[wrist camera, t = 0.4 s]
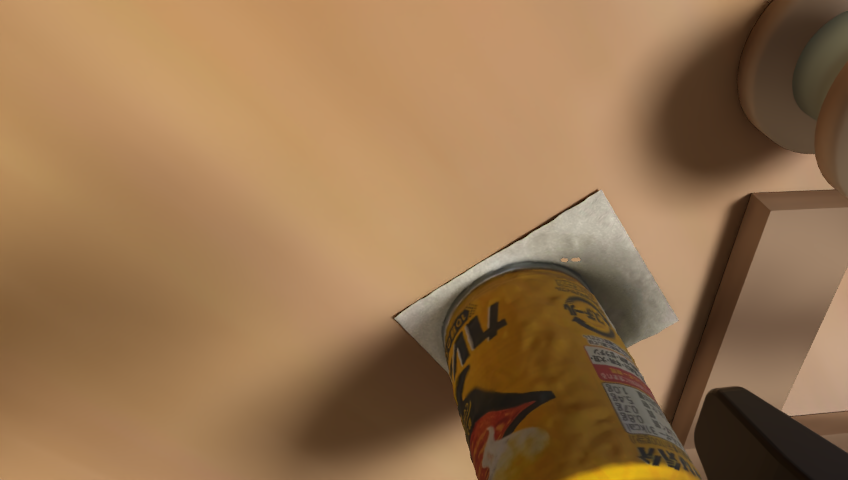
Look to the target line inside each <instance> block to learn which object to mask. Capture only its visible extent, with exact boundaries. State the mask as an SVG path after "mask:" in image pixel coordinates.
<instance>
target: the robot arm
mask: <svg viewBox="0 0 848 480" xmlns="http://www.w3.org/2000/svg"><path fill="white" fill-rule="evenodd" d="M694 444H695V448H696V451H697V454H698V456H699V459H700V462H701V464H702V467H703V469H704V472H705V474H706V477H707V480H848V453H847V452H846V451H844V450H843V449H841V448H839V447H838V446H836V445H835V444H833V443H831V442H830V441H828V440H827V439H825V438H824V437H822V436H820V435H819V434H817V433H816V432H814V431H812V430H811V429H809V428H808V427H806V426H804V425H803V424H801V423H800V422H798V421H796V420H795V419H793V418H792V417H790V416H788V415H787V414H785V413H784V412H782V411H780V410H779V409H777V408H776V407H774V406H772V405H771V404H769V403H768V402H766V401H764V400H763V399H761V398H760V397H758V396H756V395H755V394H753V393H752V392H750V391H749V390H747V389H745V388H743V387H739V386H731V387H721V388H714V389H711V390H710V391H709V392H708V393H707V394H706V396H705V399H704V402H703V406H702V409H701V412H700V415H699V418H698V421H697V424H696V427H695V431H694Z"/></svg>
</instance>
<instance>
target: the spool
mask: <svg viewBox="0 0 848 480" xmlns="http://www.w3.org/2000/svg"><path fill="white" fill-rule="evenodd" d="M737 87H738V95H739V101H740V104H741V106H742V109H743V111H744V113H745V115H746V117H747V118H748V119H749V121H750V122H751V123H752V124H753V125H754V126H755V127H756V128H757V129H758V130H760V131H761V132H762V133H763V134H765V135H766V136H767V137H769V138H770V139H771V140H773V141H774V142H775V143H776V144H778V145H780V146H781V147H783V148H785V149H788V150H791V151H793V152H798V153H804V154H815V157H816V160H817V164H818V167H819V169H820V171H821V173H822V175H823V177H824V178H825V179H826V180H827V182H828V183H829V184H830V185H831V186H832V187H834V188H835V189H836V190H837V191H838V192H840V193H841V194H842V195H844V196H845V197H846V198H848V0H773V1H772V2H771V3H770V4H769V6H768V7H767V8H766V10H765V11H764V12H763V14H762V15H761V16H760V18H759V19H758V21H757V22H756V24H755V26H754V27H753V29H752V31H751V33H750V35H749V37H748V39H747V41H746V44H745V47H744V49H743V52H742V55H741V59H740V63H739V68H738V77H737Z"/></svg>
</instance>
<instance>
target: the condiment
mask: <svg viewBox="0 0 848 480" xmlns="http://www.w3.org/2000/svg"><path fill="white" fill-rule="evenodd" d="M577 257H579V258H580V259H581V260H580V261H578V262H573V261H571V259H572V258H577ZM562 258H568V261H567V262H561V260H560V259H562ZM395 320H397V321H398V322H399V323H400V324H401V325H402V327H403V328H404V329H405V330H406V331H407V332H408V333H409V334H410V335H411V336H412V337H413V338H414V339H415V340H416V341H417V342H418V343H419V344H420V345H421V346H422V347H423V348H424V349H425V350H426V351H427V352H428V353H429V354H430V355H431V356H432V357H433V358H434V359H435V361H436V362H438V363H439V364H440V365H441V366H442V367H443V369H444V370H445V371H446V372H447V373H448V374H449V376H450V380H451V383H452V385H453V392H454V398H455V401H456V403H457V406H458V411H459V415H460V417H461V422H462V425H463V428H464V430H465V435H466V441H467V444H468V446H469V450H470V457H471V460H472V463H473V465H474V468H475V471H476V476H477V478H478V480H702V478H701V475H700V473H699V472H698V470H697V469H696V468H695V466H694V465H693V463H692V461H691V459H690V458H689V456H688V454H687V453H686V451H685V449H684V447H683V446H682V444H681V442H680V441H679V439H678V437H677V435H676V434H675V432H674V430H673V429H672V427H671V425H670V424H669V422H668V420H667V419H666V417H665V415H664V414H663V412H662V410H661V409H660V407H659V405H658V403H657V402H656V400H655V398H654V396H653V394H652V392H651V390H650V389H649V388H648V386H647V385H646V383H645V381H644V378H643V376H642V375H641V373H640V372H639V369H638V368H637V366H636V364H635V361H634V359H633V358H632V356H631V355H630V354H629V352H628V350H627V348H628V347H629V346H631V345H633V344H635V343H637V342H639V341H641V340H643V339H646V338H648V337H650V336H653V335H655V334H657V333H659V332H660V331H662V330H663V329H665V328H667V327H668V326H670V325H672V324H674V323H676V322H677V321H679V320H678V318H677V316H676V315H675V313H674V311H673V310H672V308H671V307H670V305H669V303H668V302H667V300H666V298H665V297H664V295H663V293H662V292H661V290H660V288H659V286H658V285H657V283H656V282H655V280H654V278H653V276H652V275H651V273H650V271H649V270H648V268H647V266H646V265H645V263H644V261H643V259H642V258H641V256H640V254H639V253H638V251H637V249H636V248H635V247H634V245H633V243H632V241H631V239H630V237H629V236H628V234H627V232H626V231H625V229H624V227H623V226H622V224H621V222H620V221H619V219H618V217H617V215H616V214H615V212H614V210H613V208H612V207H611V205H610V203H609V202H608V200H607V198H606V197H605V195H604V193H603V192H602V190H600V191H598V192H597V193H595V194H593V195H591V196H590V197H588V198H587V199H586V200H585V201H583V202H582V203H580V204H578V205H577V206H575V207H573V208H571V209H569V210H567V211H565V212H564V213H562V214H561V215H559V216H558V217H557V218H556V219H554V220H553V221H551V222H550V223H548V224H546V225H544V226H542V227H540V228H539V229H537V230H535V231H534V232H532V233H530V234H529V235H528V236H527V237H525V238H523V239H522V240H519V241H517V242H515V243H514V244H512V245H511V246H509V247H507V248H505V249H503V250H502V251H500V252H498V253H496V254H494V255H493V256H491V257H489V258H487V259H486V260H484V261H482V262H481V263H479V264H477V265H476V266H474V267H473V268H471V269H469V270H468V271H466V272H465V273H463V274H462V275H460V276H458V277H456V278H455V279H453V280H452V281H450V282H449V283H447V284H445V285H443V286H441V287H440V288H438V289H437V290H435V291H433V292H432V293H431V294H430V295H428V296H427V297H425V298H423V299H421V300H419V301H417V302H416V303H414V304H413V305H411V306H410V307H408V308H407V309H405V310H404V311H402V312H401V313H400V314H399V315H398V316H397V317H396V318H395Z"/></svg>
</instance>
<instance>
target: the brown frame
mask: <svg viewBox="0 0 848 480" xmlns="http://www.w3.org/2000/svg"><path fill="white" fill-rule="evenodd" d="M847 267H848V198H846V197H845V196H844V195H842V194H841V193H840V192H838V191H837V190H819V191H794V192H769V193H752V194H751V197H750V200H749V203H748V206H747V208H746V211H745V214H744V217H743V220H742V223H741V226H740V229H739V231H738V234H737V237H736V240H735V243H734V246H733V249H732V252H731V255H730V257H729V260H728V263H727V266H726V269H725V272H724V275H723V278H722V280H721V283H720V286H719V289H718V292H717V295H716V298H715V301H714V304H713V306H712V309H711V312H710V315H709V318H708V321H707V324H706V327H705V329H704V332H703V335H702V338H701V341H700V344H699V347H698V350H697V353H696V355H695V358H694V361H693V364H692V367H691V370H690V373H689V376H688V378H687V381H686V384H685V387H684V390H683V393H682V396H681V399H680V401H679V404H678V407H677V410H676V413H675V416H674V419H673V422H672V425H671V427H672V429H673V430H674V432H675V434H676V435H677V437H678V439H679V441H680V442H681V444H682V446H683V447H684V449H685V451H686V453H687V454H688V456H689V458H690V459H691V461H692V463H693V465H694V466H695V468H696V469H697V470H698V472H699V473H700V475H701V478H702V480H707V477H706V474H705V472H704V469H703V467H702V464H701V462H700V459H699V456H698V454H697V451H696V448H695V444H694V431H695V427H696V424H697V421H698V418H699V415H700V412H701V409H702V406H703V402H704V399H705V396H706V394H707V393H708V392H709V391H710V390H711V389H714V388H721V387H731V386H739V387H743V388H745V389H747V390H749V391H750V392H752V393H753V394H755V395H756V396H758V397H760V398H761V399H763V400H764V401H766V402H768V403H769V404H771V405H772V406H774V407H776V408H777V409H779V410H780V411H781V410H782V408H783V405H784V403H785V401H786V399H787V397H788V395H789V392H790V390H791V388H792V386H793V384H794V382H795V379H796V377H797V375H798V373H799V371H800V369H801V366H802V364H803V362H804V360H805V358H806V356H807V354H808V351H809V349H810V347H811V345H812V343H813V341H814V338H815V336H816V334H817V332H818V330H819V328H820V325H821V323H822V321H823V319H824V317H825V315H826V312H827V310H828V308H829V306H830V304H831V302H832V299H833V297H834V295H835V293H836V291H837V289H838V286H839V284H840V282H841V280H842V278H843V276H844V273H845V271H846V269H847ZM792 418H793V419H795V420H796V421H798V422H800V423H801V424H803V425H804V426H806V427H808V428H809V429H811V430H812V431H814V432H816V433H817V434H819V435H820V436H822V437H824V438H825V439H827V440H828V441H830V442H831V443H833V444H835V445H836V446H838V447H839V448H841V449H843V450H844V451H846V452H847V453H848V411H845V412H835V413H825V414H814V415H804V416H793V417H792Z"/></svg>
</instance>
